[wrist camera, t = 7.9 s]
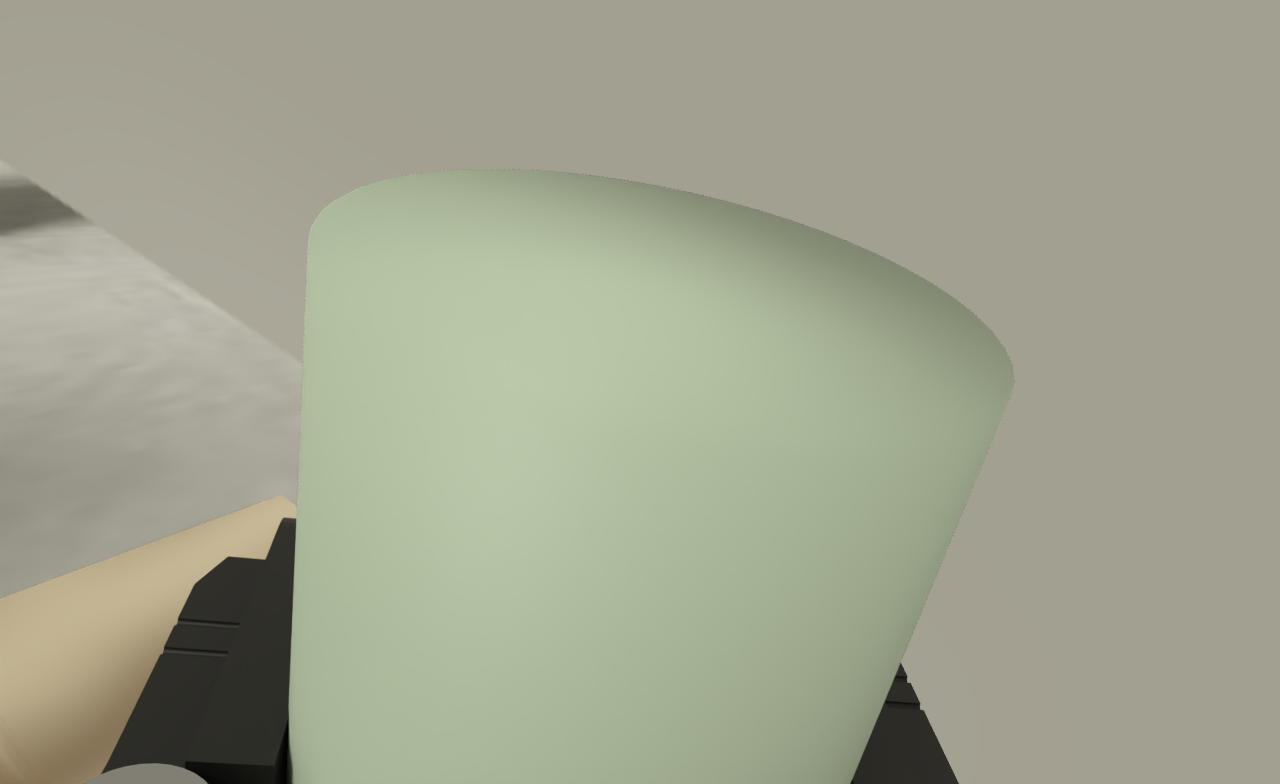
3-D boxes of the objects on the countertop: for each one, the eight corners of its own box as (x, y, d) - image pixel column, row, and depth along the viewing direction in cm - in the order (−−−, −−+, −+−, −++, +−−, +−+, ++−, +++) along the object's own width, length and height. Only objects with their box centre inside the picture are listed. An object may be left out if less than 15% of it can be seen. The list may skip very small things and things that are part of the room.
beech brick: (-42, 778, 24) (-71, 624, 22) (278, 623, 31) (281, 494, 28) (143, 1042, 19) (130, 881, 17) (469, 793, 26) (490, 655, 24)
